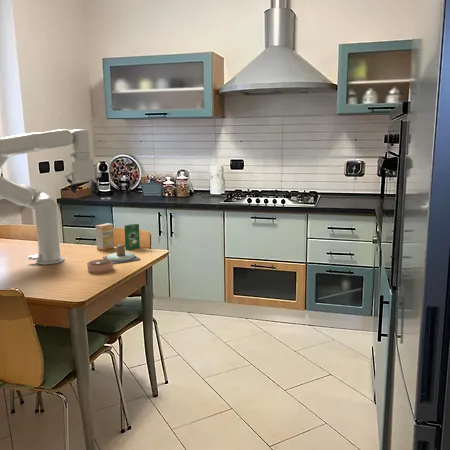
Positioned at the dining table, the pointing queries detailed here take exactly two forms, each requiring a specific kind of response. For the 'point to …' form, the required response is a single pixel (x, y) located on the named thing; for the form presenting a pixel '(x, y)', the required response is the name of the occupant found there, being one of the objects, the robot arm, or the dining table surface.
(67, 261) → the dining table surface
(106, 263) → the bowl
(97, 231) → the supplement box
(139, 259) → the mat
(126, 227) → the coffee box
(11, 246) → the dining table surface
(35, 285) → the dining table surface
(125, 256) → the lid
